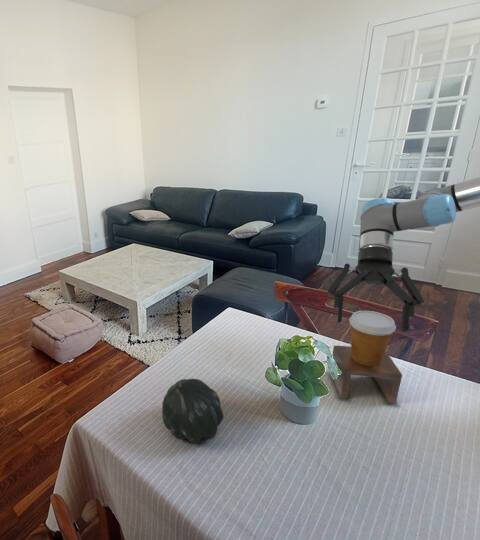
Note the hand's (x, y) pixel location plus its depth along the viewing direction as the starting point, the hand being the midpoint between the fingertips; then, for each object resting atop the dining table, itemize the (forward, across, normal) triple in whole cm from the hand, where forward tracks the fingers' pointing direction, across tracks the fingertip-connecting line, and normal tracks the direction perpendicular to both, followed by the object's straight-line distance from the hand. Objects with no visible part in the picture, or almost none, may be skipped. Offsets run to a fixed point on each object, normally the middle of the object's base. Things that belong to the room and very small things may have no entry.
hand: (371, 325), depth 86 cm
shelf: (+14, 0, -12) cm, 18 cm away
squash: (+37, +36, +11) cm, 53 cm away
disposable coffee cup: (+8, 0, -6) cm, 10 cm away
